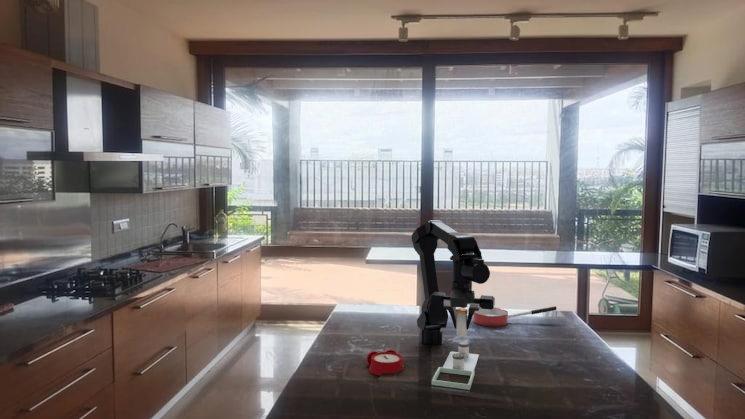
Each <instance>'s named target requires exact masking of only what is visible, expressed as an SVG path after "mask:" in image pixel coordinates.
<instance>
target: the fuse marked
mask: <svg viewBox="0 0 745 419" xmlns="http://www.w3.org/2000/svg"><path fill="white" fill-rule="evenodd" d="M467 319H468V309H467V308H461V307H457V308H456V329H455V336H456V337H458V338H466V337H467V336H468V330H467Z"/></svg>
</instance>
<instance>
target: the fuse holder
mask: <svg viewBox="0 0 745 419" xmlns="http://www.w3.org/2000/svg"><path fill="white" fill-rule="evenodd" d="M457 344H458V345H457V346H458V347H457V348H458V351H450V352H449V354H448V356H447V358H446V359H445V362H444V364H443V366H442V367H444V368H453V369H461V370H469V371H475V369H476V367H477V362H478V359H479V356H480V354H478V353H470V343H469V342H468V341H458V343H457Z"/></svg>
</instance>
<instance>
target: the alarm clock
mask: <svg viewBox="0 0 745 419" xmlns="http://www.w3.org/2000/svg"><path fill="white" fill-rule="evenodd" d="M403 360H404V359H403V356H402V355H401V354H400V353H398V352H396V351H395V350H394V349H387V350H386V351H379V352H377V351H374V350H372V351H370V352H369V353H368V354H367V356H366V362H367V364H368V365H369V367H368V370H369V373H371V374H373V375H376V376H380V377H381V375H383V374H394V373H399V372H401V371H403V370H404V369H405V365H404V363H403V362H404V361H403Z"/></svg>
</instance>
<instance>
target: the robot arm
mask: <svg viewBox="0 0 745 419" xmlns="http://www.w3.org/2000/svg"><path fill="white" fill-rule="evenodd" d="M410 240H411V242H412V244H413V250H414V251H415V252H416V253H417V254H418V256H419V261H420V262H419V263H420V269H421V275H422V278H421V279H422V285H423V292H424V293H423V294H424V300H423V303H422V305H421V313H420V315H419V316H418V318H417V320H416V323H417V324H416V325H417V328H419V329H421V344H423V345H426V346H431V347H432V346H442V345H443V344H444V331H443V330H442V329H445V328H447V325H448V320H449V316H450V318H451V321H452V324H453V327H454V329H455V330H456V309H457V308H464V309H467V307H468V305H469V307H468V309H467V310H468V313H467V331H469V328H470V326H471V322H472V320H473V314H474V312H475V311H479V309H480V308H482V309H493V308H495V304H496V299H495V297H494V295H484V294H483V295H482V294H481V296H479V297H476V296H475V295H476V294H475V290H473V283H475V284H478V285H482V284H485V283H486V282H488V280H489V279H490V275H491V271H490V269H489V267H488V265H487V264H485V260H484V258H483V256H482V251H481V249H480V247H479V245H478V242H477V240H476V238H475V236H474V235H472V234H470V233H469V234H468V233H466V232H465V233H463V232H458V231H456V230H455V229H453V228H452V227H450V226H448V225H447V224H445V223H444V222H443V221H442V220H440V219H433V220H431V219H430V220H427V221H425V223H424V224H423V225H420V226H419V227H417V228H416V229H415V230H414V231H413V232H412V234H411V239H410ZM439 240H441V241H442V242H444V243H445V244H446V245H447V250H448V251H449V252H451V254H452V255H451V256H450V257H449V260H450V261H452V287H451V289H450V294H449V295H447V294H446V292H442V291H439V290H440V289H439V282H438V275H437V266H436V261H435V253H436V250H437V248H438V246H439V244H438V241H439Z"/></svg>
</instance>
